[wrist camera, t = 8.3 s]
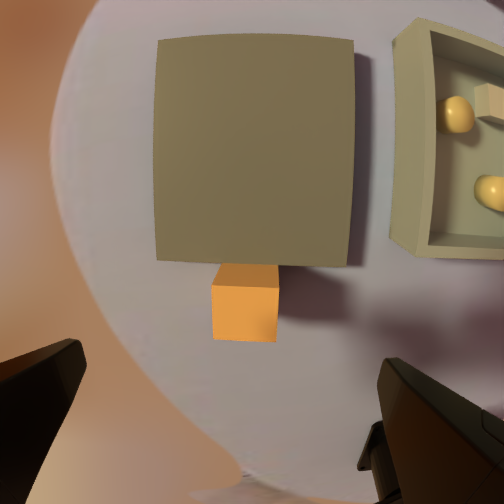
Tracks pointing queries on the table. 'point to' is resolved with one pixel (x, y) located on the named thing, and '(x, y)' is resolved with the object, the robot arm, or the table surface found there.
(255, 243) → the lid
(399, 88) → the tub
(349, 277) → the table surface
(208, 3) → the table surface
